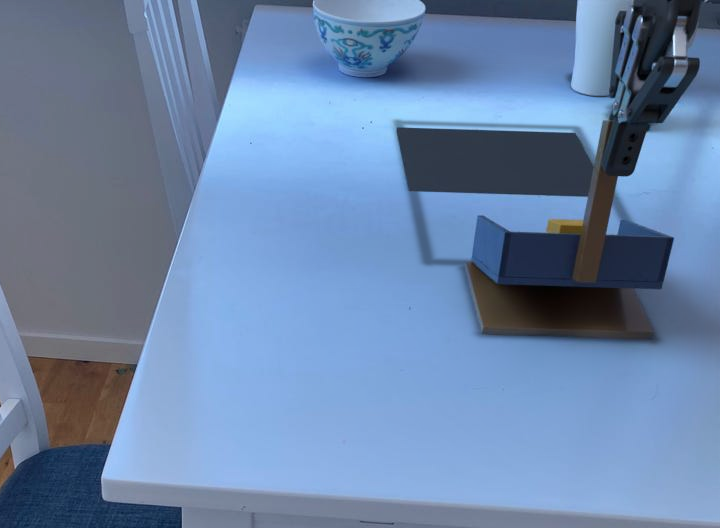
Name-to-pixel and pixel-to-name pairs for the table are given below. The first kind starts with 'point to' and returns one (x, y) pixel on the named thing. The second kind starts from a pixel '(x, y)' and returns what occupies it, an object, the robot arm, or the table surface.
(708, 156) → the table surface
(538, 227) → the table surface
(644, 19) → the robot arm
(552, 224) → the block
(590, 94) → the cup
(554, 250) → the tray
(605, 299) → the stand
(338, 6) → the chinaware
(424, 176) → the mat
